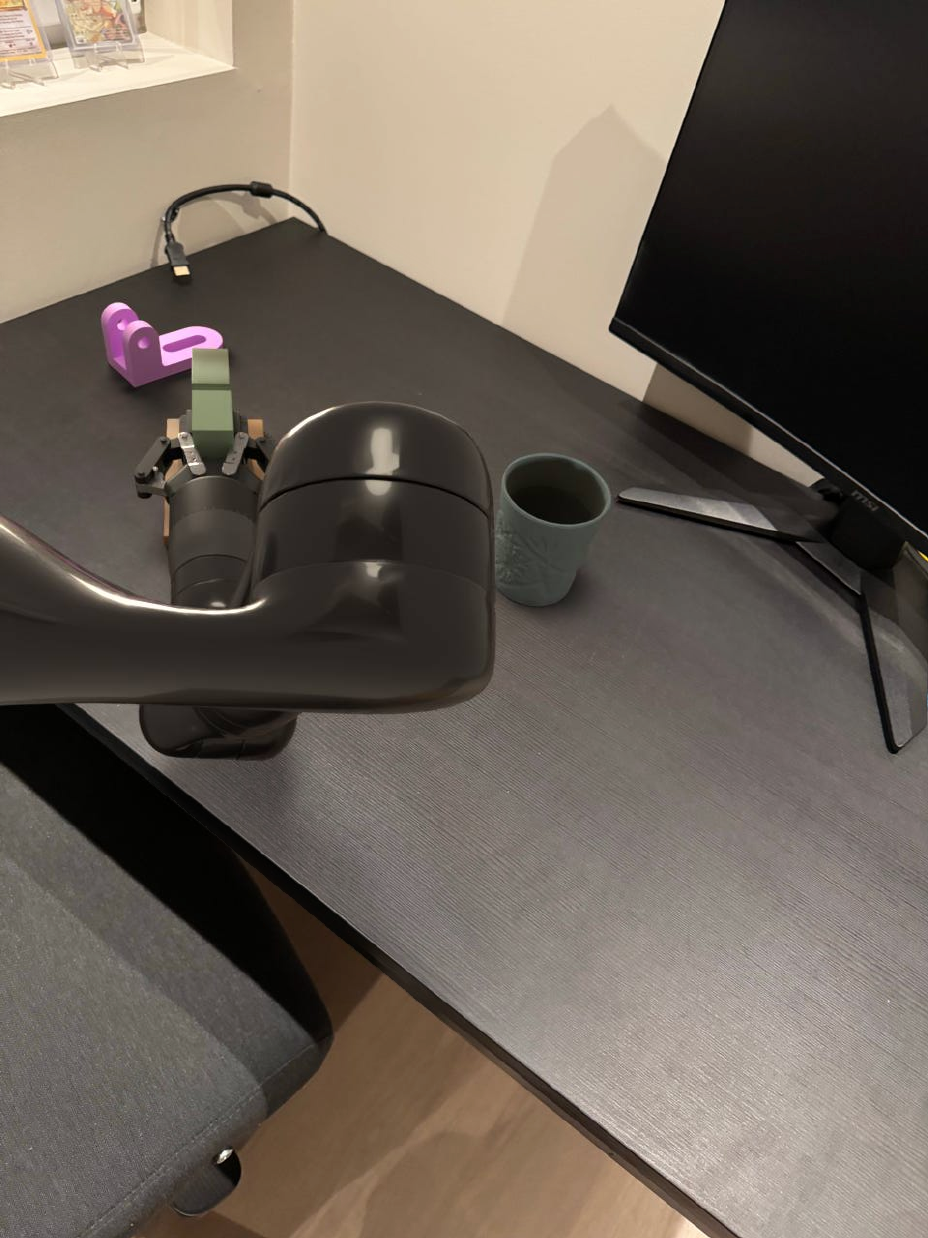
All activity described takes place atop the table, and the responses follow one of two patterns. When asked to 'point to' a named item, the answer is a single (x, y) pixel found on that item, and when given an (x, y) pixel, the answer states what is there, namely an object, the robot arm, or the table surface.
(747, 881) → the table surface
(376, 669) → the robot arm
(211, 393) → the green rectangular block
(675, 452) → the table surface
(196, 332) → the bracket
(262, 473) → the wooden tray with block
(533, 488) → the grey green embossed cup
